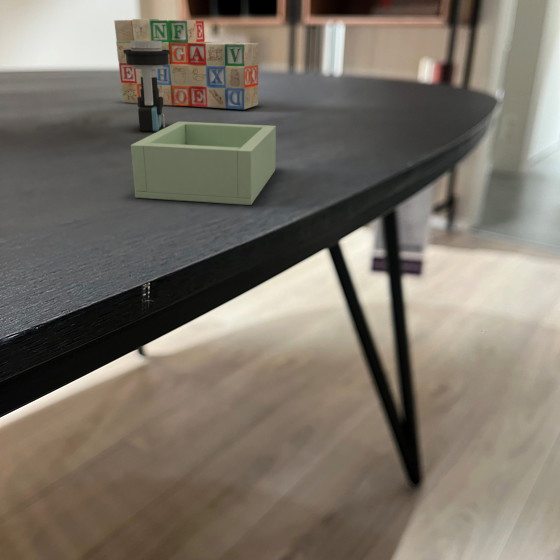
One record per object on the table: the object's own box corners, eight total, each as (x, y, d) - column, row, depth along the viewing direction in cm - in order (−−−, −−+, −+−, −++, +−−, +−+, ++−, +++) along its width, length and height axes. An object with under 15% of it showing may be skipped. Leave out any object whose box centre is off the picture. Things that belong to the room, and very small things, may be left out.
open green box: (135, 197, 43) (130, 144, 42) (180, 165, 53) (177, 121, 52) (251, 205, 42) (251, 150, 40) (275, 170, 52) (276, 125, 50)
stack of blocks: (259, 105, 91) (259, 21, 86) (244, 111, 85) (243, 20, 80) (141, 98, 97) (135, 18, 92) (121, 102, 92) (113, 18, 86)
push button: (135, 123, 74) (128, 39, 70) (176, 123, 74) (172, 40, 70) (127, 132, 68) (118, 41, 64) (172, 132, 68) (167, 42, 64)
